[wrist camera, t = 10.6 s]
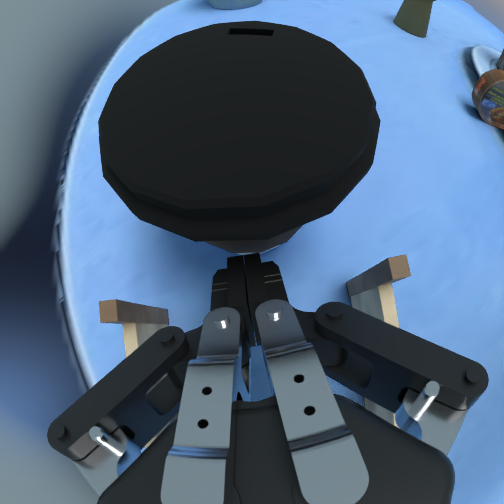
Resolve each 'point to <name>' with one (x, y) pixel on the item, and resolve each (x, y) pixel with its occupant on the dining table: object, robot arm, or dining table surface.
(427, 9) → the cork
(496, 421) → the dining table surface
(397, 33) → the dining table surface
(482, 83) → the tin
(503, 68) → the plant pot
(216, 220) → the coffee cup
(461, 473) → the dining table surface
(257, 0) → the green embossed planter
